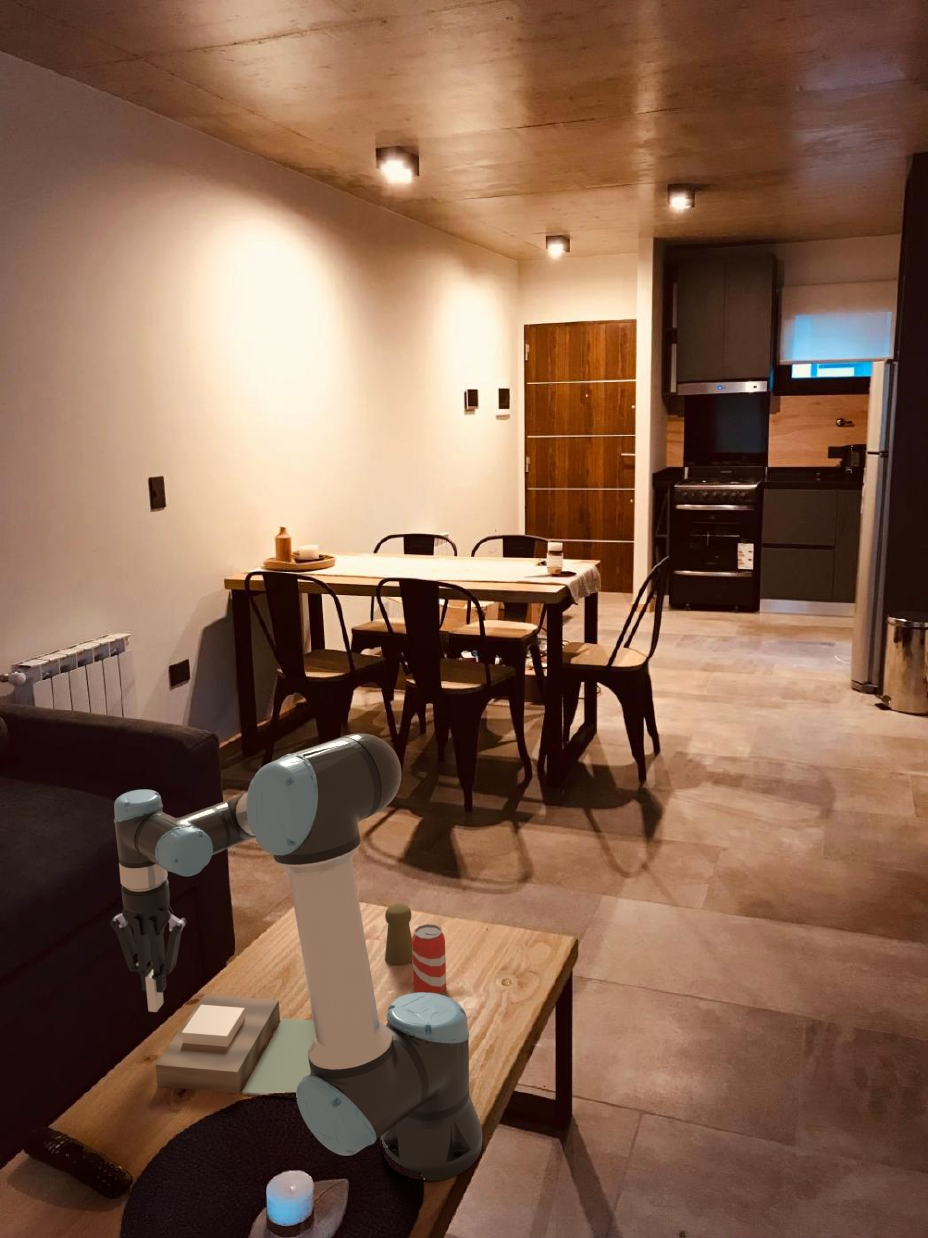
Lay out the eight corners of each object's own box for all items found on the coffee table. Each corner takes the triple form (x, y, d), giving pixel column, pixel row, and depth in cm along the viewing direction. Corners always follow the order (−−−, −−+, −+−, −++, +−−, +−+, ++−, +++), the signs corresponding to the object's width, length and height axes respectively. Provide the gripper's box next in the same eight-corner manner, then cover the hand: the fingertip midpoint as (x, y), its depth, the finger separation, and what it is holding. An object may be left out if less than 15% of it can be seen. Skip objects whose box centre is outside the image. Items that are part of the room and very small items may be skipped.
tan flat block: (239, 1094, 165) (237, 1072, 164) (157, 1086, 167) (155, 1065, 166) (280, 1020, 184) (278, 1000, 183) (206, 1014, 186) (204, 994, 185)
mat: (331, 1102, 162) (331, 1100, 162) (242, 1094, 165) (241, 1092, 165) (363, 1026, 182) (363, 1024, 181) (282, 1020, 184) (282, 1018, 184)
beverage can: (442, 1000, 189) (441, 941, 186) (409, 996, 190) (407, 938, 188) (449, 981, 195) (448, 924, 192) (417, 978, 196) (415, 921, 194)
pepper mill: (386, 949, 207) (384, 899, 204) (416, 949, 206) (414, 899, 204) (383, 966, 201) (380, 915, 198) (413, 966, 200) (411, 915, 198)
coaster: (227, 1046, 170) (227, 1036, 170) (182, 1043, 172) (181, 1032, 171) (245, 1018, 178) (244, 1008, 178) (201, 1015, 179) (201, 1004, 179)
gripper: (190, 873, 173) (200, 997, 178) (119, 868, 175) (130, 991, 180) (171, 895, 166) (182, 1023, 171) (97, 889, 168) (110, 1017, 173)
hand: (156, 1007), depth 176 cm, fingers closed
